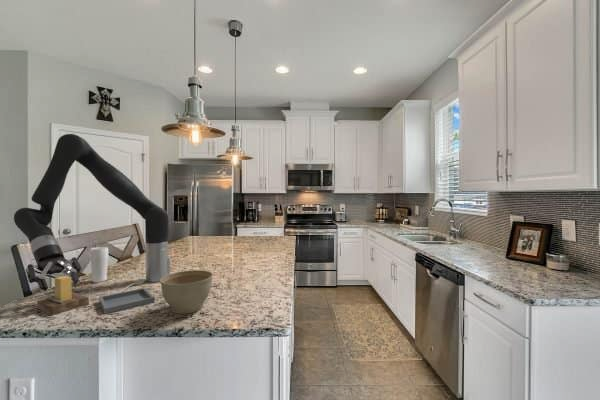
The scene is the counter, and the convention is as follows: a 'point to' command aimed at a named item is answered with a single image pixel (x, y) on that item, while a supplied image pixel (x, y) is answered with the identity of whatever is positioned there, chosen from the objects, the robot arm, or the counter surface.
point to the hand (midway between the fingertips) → (61, 285)
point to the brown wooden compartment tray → (62, 304)
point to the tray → (125, 300)
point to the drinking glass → (99, 263)
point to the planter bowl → (186, 290)
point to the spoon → (132, 284)
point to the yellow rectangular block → (63, 288)
